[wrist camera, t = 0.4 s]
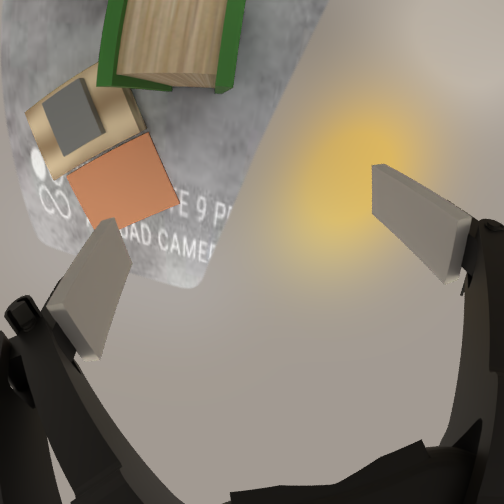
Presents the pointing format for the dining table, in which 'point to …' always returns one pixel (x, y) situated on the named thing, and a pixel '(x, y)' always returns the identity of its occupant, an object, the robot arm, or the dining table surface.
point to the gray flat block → (73, 116)
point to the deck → (111, 115)
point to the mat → (124, 184)
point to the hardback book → (170, 44)
